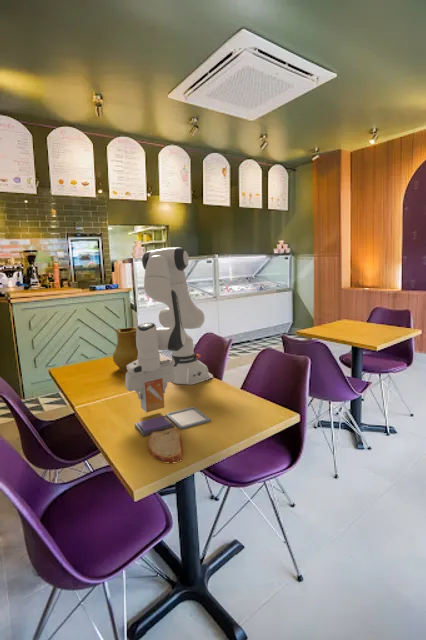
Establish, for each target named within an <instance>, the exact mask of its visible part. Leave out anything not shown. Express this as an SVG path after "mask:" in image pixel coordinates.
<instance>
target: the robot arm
mask: <svg viewBox="0 0 426 640" xmlns="http://www.w3.org/2000/svg"><path fill="white" fill-rule="evenodd" d="M189 259H190V258H189V254H188V252H187V250H186V249H185V248H183V247H179V246H176V247H163V248H160V249H159V248H158V249H153V250H147V251H145V252H144V253H143V255H142V259H141V264H142V267H143V269H144V270H145V271H144V278H143V283H144V284H143V288H144V292H145V294H146V295H147V296H148V297H149V298H151V299H152V300H154V301H156V302H159V303H161V304H164V305H165V306H167V307H164V308H162V309H161V310H160V311H159V314H158V322H159V323H160V325H161V327H159V326H158V327H157V325H156V324H155V323H153V322H144V323H141V324H139V325H137V327H136V328H137V330H136V346H137V350H138V359H137V360H136V361H134V362H132V363H130V364H128V365H127V370H128V372H125V378H124V379H125V380H124V382H125V383H124V385H125V386H124V387H125V389H126V390H127V391H129V392H133V391H135V393H136V394H137V395H138V396H137V397H138V400H140V399H143V394H142V393H141V394H140V389H143V381H147V380H152V379H157V378H161V377H162V378H163V392H164V394H166V389H167V386H168V383H173V384H177V385H189V386H190V385H191V386H192V385H195V384H198V383H199V384H200V383H203V382H205V380H206V381H209V380H211V379H210V378H212V379H213V378H214V375H213V374H212V373H210V372H209V369H208V365H206V364H204V363H203V362H201V360H198V359H200V358H201V354H199V353H195V352H194V339H193V337H192V336H190V335H189V334H188V333H187V332H186V330H187V329H188V330H195V329H199V328H201V327H202V326H203V324H204V323H205V319H206V318H205V314H204V311H203V310H202V309H200V308H199V307H198V306H197V305H196V304H195V303H194V301H193V299H192V298H191V296H190V294H189V293H190V292H189V289H188V283H187V276H186V273H185V272H186V271H185V270H186V269H187V267H188V265H189ZM162 326H163V327H162ZM160 351H170V352H172V354H171V359H166V360H161V355H160ZM208 379H209V380H208Z"/></svg>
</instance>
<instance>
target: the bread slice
mask: <svg viewBox="0 0 426 640" xmlns="http://www.w3.org/2000/svg"><path fill="white" fill-rule="evenodd" d="M183 449H184V448H183V443H182V437H181V435H180V433H179V431H178V429H177V427H174V428H170V429H166V430H164V431H158V432H157V431H155V432H153V433H151V435H149V437H148V440H147V450H149V451H148V452H149V454H150V455H151V457H152V458H153V457H154V459H155V460H156V459H157V460H156V461H158V460H159V461H158V462H160V461H162V462H161V463H163V462H169V463H168V464H174V463H173V462H178V461H180V460H182V461H183V459H182V457H183V456H184V450H183ZM183 458H184V457H183ZM180 462H181V461H180ZM178 463H179V462H178Z"/></svg>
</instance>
